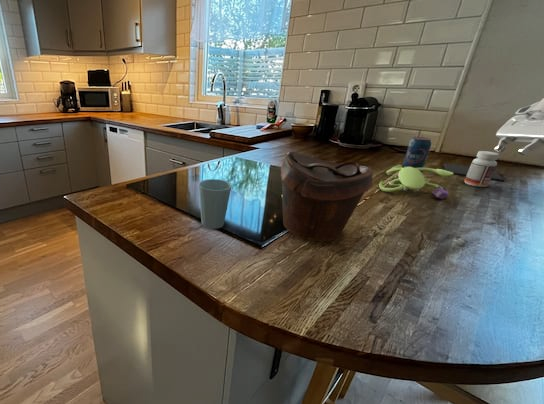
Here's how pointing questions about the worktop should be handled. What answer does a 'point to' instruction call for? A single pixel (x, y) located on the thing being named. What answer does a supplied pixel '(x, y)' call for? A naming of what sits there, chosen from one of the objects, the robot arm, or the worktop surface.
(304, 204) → the brown tapered round container
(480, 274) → the worktop surface
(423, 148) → the soda can
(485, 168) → the pill bottle
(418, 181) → the green soft sprawling figure
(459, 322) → the worktop surface
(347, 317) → the worktop surface
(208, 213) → the cup
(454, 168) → the mat
